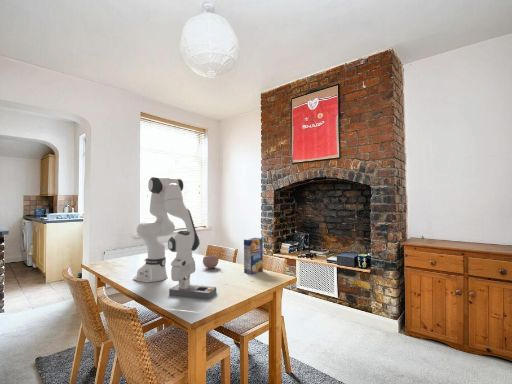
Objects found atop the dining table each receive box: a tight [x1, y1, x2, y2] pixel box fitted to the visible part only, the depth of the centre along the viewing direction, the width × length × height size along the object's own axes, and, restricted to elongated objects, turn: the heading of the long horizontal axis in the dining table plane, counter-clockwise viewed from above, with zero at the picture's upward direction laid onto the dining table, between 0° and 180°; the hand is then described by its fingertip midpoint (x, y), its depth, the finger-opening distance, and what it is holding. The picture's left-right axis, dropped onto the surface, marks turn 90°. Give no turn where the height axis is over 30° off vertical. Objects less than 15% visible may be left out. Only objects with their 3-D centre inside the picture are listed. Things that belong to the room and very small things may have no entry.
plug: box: [179, 277, 191, 289], centre depth 156 cm, size 4×4×10 cm
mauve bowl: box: [202, 252, 220, 269], centre depth 213 cm, size 12×12×12 cm
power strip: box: [168, 283, 217, 300], centre depth 154 cm, size 24×10×5 cm, turn 74°
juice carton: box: [243, 237, 264, 275], centre depth 202 cm, size 12×8×24 cm, turn 135°
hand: (184, 284), depth 156 cm, fingers closed on plug, 4 cm apart
